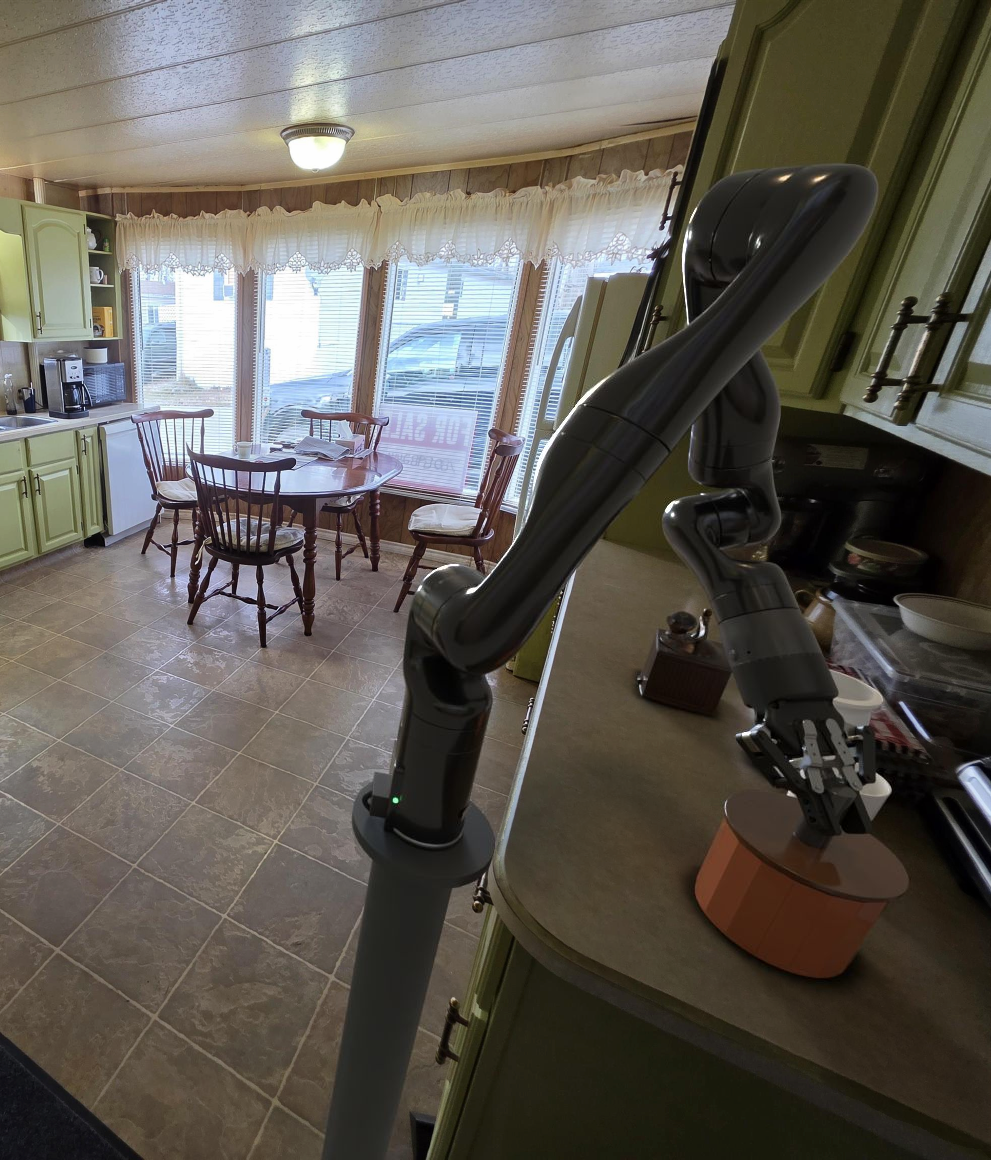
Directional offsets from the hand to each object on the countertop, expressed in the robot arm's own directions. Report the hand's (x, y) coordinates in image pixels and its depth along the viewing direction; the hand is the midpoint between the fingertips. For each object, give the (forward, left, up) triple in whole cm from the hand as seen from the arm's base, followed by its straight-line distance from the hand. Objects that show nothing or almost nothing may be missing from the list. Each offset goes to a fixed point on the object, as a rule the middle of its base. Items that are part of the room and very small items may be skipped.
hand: (843, 833), depth 58 cm
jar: (+15, +32, -15) cm, 38 cm away
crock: (-1, +2, -14) cm, 14 cm away
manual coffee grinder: (+6, +48, -15) cm, 50 cm away
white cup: (+11, +18, -15) cm, 26 cm away
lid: (-1, +2, -3) cm, 4 cm away
